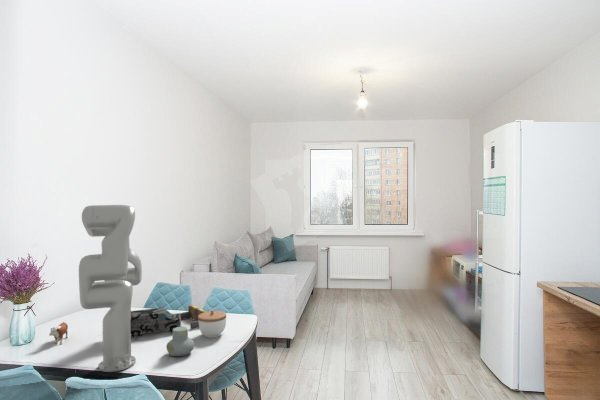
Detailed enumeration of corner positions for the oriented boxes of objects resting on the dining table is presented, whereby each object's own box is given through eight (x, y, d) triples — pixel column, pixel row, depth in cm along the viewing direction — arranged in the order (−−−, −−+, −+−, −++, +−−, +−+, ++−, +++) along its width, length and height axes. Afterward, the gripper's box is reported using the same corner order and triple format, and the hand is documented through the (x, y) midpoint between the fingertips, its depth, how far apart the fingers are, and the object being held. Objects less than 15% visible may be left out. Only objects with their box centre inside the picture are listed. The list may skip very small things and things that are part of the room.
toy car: (181, 332, 178) (181, 310, 178) (123, 339, 170) (123, 316, 170) (180, 325, 188) (180, 304, 188) (126, 331, 180) (125, 310, 180)
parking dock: (209, 325, 187) (209, 312, 187) (192, 329, 181) (191, 316, 181) (192, 316, 202) (191, 304, 201) (175, 320, 196) (175, 307, 196)
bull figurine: (47, 348, 160) (46, 329, 160) (60, 337, 173) (60, 319, 173) (58, 347, 161) (58, 328, 161) (71, 336, 174) (71, 318, 174)
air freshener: (164, 352, 154) (164, 328, 154) (183, 347, 160) (183, 323, 160) (177, 360, 146) (176, 334, 146) (196, 354, 152) (196, 329, 152)
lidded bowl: (212, 328, 182) (211, 305, 182) (232, 332, 176) (232, 309, 176) (192, 336, 171) (191, 312, 171) (212, 342, 165) (212, 316, 165)
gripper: (136, 296, 166) (137, 335, 166) (123, 289, 178) (124, 325, 179) (118, 299, 161) (118, 340, 161) (106, 292, 173) (107, 329, 174)
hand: (121, 332), depth 170 cm, fingers open, 9 cm apart
